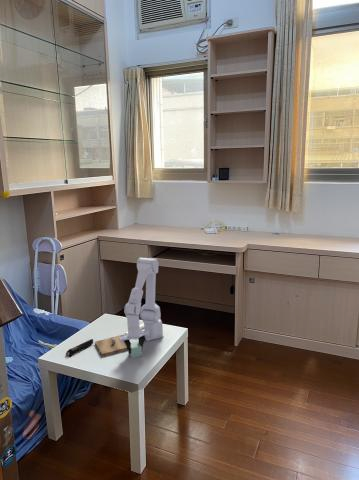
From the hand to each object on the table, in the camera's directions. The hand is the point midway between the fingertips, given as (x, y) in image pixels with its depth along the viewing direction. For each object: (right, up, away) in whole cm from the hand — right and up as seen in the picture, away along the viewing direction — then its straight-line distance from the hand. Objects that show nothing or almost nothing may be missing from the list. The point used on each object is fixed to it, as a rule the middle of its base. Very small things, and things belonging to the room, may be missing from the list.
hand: (135, 351), depth 174 cm
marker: (-2, +4, +25) cm, 26 cm away
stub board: (-12, 0, +9) cm, 15 cm away
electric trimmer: (-29, -1, +7) cm, 30 cm away
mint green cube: (0, -1, 0) cm, 1 cm away
